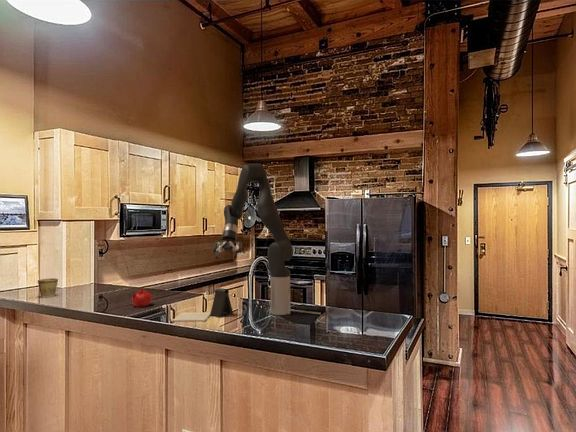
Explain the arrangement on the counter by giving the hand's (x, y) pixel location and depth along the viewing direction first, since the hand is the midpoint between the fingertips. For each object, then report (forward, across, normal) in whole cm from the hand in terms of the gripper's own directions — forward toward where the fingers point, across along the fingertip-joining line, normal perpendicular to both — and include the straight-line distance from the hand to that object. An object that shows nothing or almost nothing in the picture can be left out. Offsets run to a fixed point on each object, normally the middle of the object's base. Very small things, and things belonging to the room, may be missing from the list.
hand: (225, 258), depth 188 cm
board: (+29, -12, +6) cm, 32 cm away
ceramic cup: (-6, -110, +43) cm, 118 cm away
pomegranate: (+12, -45, +24) cm, 52 cm away
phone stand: (+26, 0, +10) cm, 28 cm away
